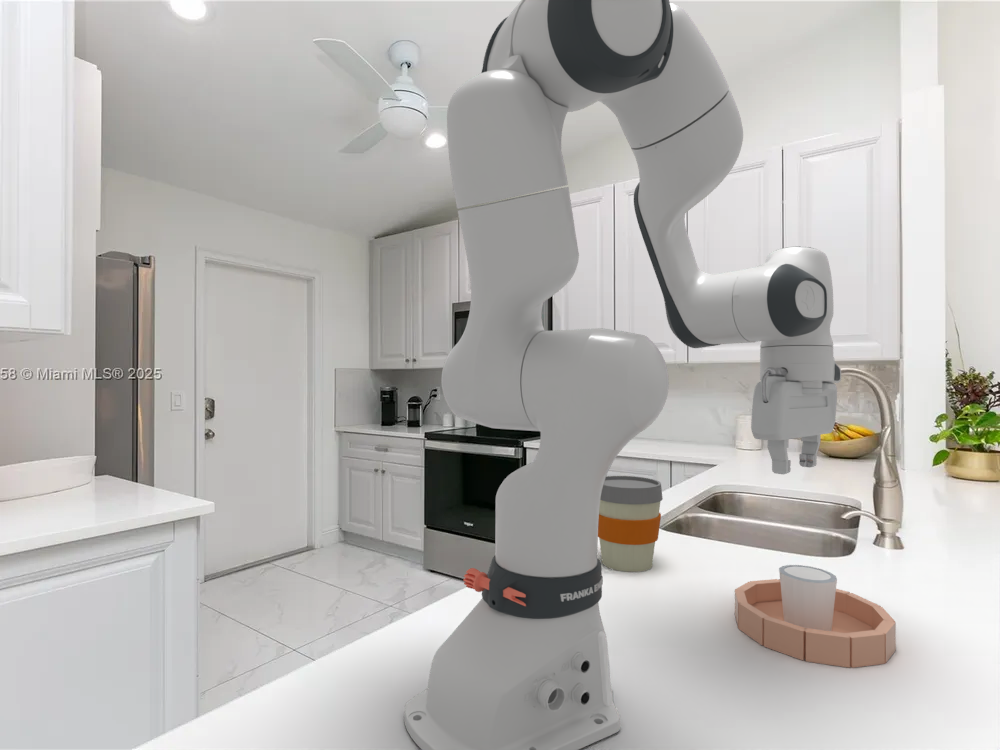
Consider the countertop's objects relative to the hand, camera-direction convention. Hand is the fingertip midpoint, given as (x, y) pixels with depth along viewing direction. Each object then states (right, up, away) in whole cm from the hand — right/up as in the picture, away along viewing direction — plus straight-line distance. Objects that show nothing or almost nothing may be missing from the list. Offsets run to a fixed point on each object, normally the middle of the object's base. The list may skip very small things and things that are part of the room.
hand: (795, 470), depth 74 cm
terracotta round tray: (+1, -22, -1) cm, 22 cm away
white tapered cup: (+1, -21, -1) cm, 21 cm away
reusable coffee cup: (-17, -22, +25) cm, 38 cm away
